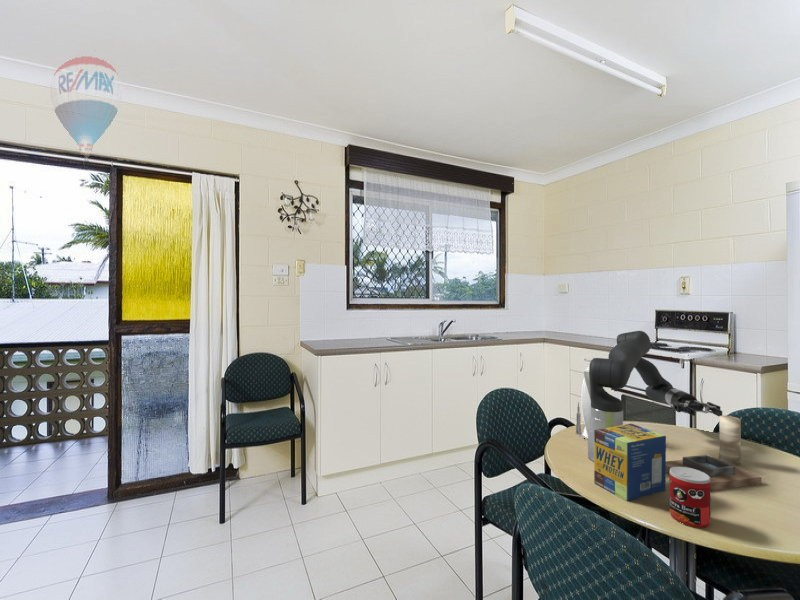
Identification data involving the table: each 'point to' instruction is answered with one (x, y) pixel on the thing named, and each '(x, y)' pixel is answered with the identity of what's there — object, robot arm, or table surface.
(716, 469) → the base board
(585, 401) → the skyscraper
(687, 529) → the table surface
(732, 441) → the birch column
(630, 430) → the protein box
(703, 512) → the canned food
